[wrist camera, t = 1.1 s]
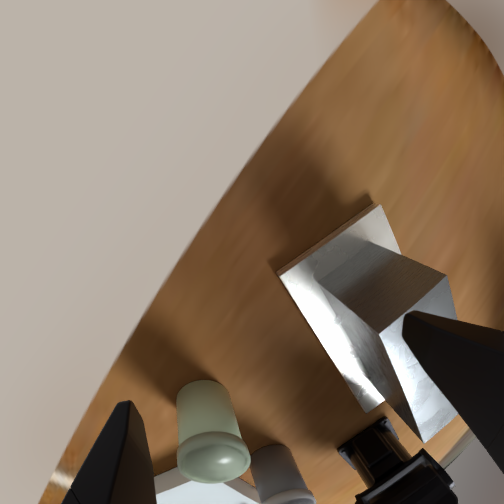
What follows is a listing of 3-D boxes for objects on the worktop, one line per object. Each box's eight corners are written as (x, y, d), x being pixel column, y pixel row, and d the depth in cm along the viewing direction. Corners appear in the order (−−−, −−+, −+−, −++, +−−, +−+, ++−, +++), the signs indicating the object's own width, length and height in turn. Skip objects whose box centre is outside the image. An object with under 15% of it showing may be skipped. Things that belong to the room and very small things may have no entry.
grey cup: (300, 456, 29) (324, 505, 22) (261, 476, 28) (279, 526, 22) (278, 436, 27) (302, 491, 20) (237, 459, 27) (252, 514, 20)
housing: (429, 353, 29) (485, 398, 20) (361, 407, 28) (408, 466, 20) (373, 202, 23) (460, 224, 14) (275, 271, 23) (331, 331, 14)
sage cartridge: (243, 403, 25) (264, 464, 18) (198, 428, 25) (207, 490, 18) (209, 367, 23) (223, 431, 17) (161, 396, 23) (161, 461, 17)
